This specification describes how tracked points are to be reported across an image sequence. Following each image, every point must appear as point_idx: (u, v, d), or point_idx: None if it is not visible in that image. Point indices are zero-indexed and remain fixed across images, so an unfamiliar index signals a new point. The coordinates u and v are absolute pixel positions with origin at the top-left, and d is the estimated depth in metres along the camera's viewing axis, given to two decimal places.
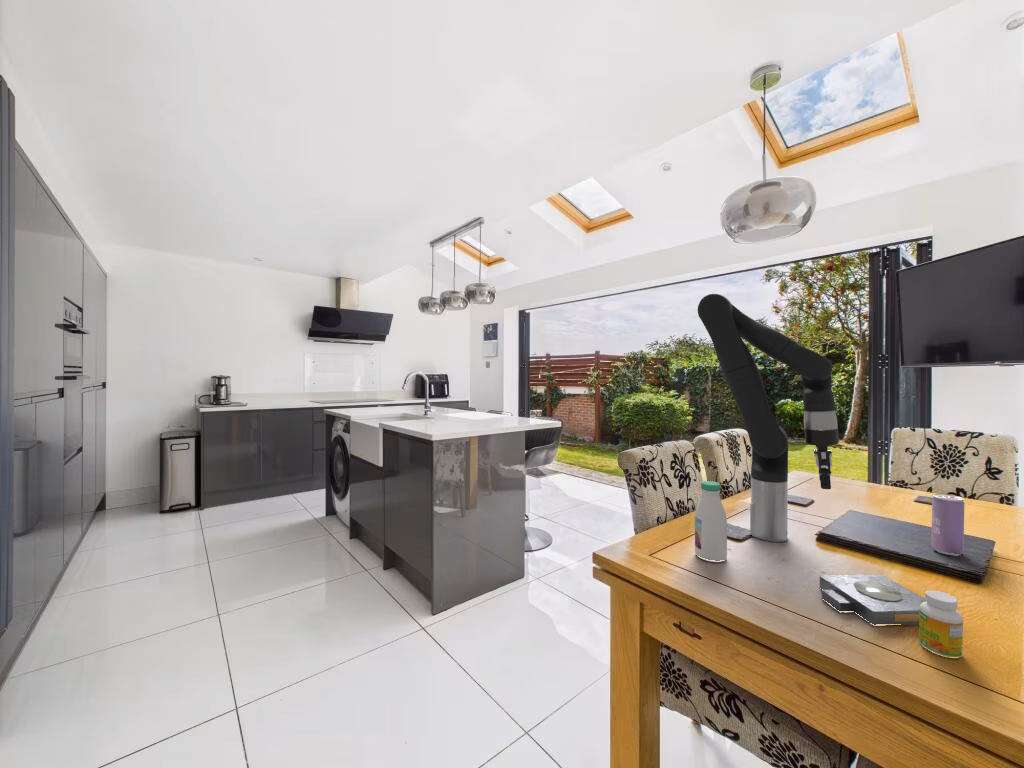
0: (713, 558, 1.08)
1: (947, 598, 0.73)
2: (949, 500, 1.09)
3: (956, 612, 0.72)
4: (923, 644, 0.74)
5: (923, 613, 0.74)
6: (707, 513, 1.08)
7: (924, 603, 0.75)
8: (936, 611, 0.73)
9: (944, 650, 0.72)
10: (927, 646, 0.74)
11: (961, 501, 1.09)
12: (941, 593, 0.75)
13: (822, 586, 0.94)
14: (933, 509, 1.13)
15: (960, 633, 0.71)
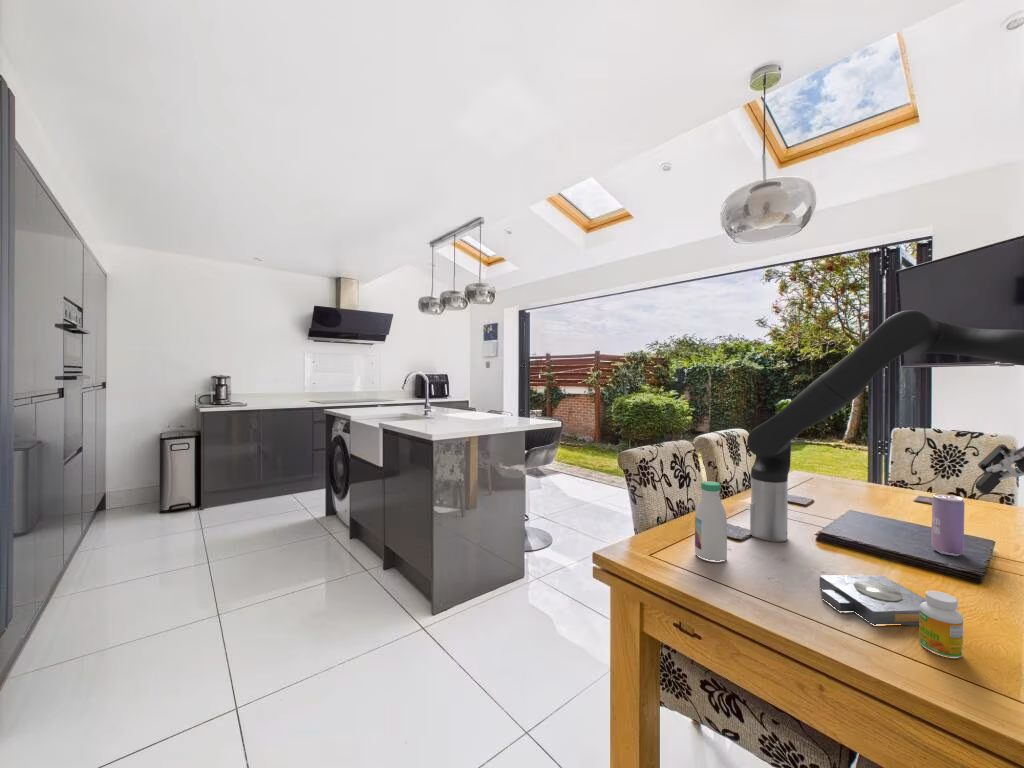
0: (713, 558, 1.08)
1: (947, 598, 0.73)
2: (949, 500, 1.09)
3: (956, 612, 0.72)
4: (923, 644, 0.74)
5: (923, 613, 0.74)
6: (707, 513, 1.08)
7: (924, 603, 0.75)
8: (936, 611, 0.73)
9: (944, 650, 0.72)
10: (927, 646, 0.74)
11: (961, 501, 1.09)
12: (941, 593, 0.75)
13: (822, 586, 0.94)
14: (933, 509, 1.13)
15: (960, 633, 0.71)
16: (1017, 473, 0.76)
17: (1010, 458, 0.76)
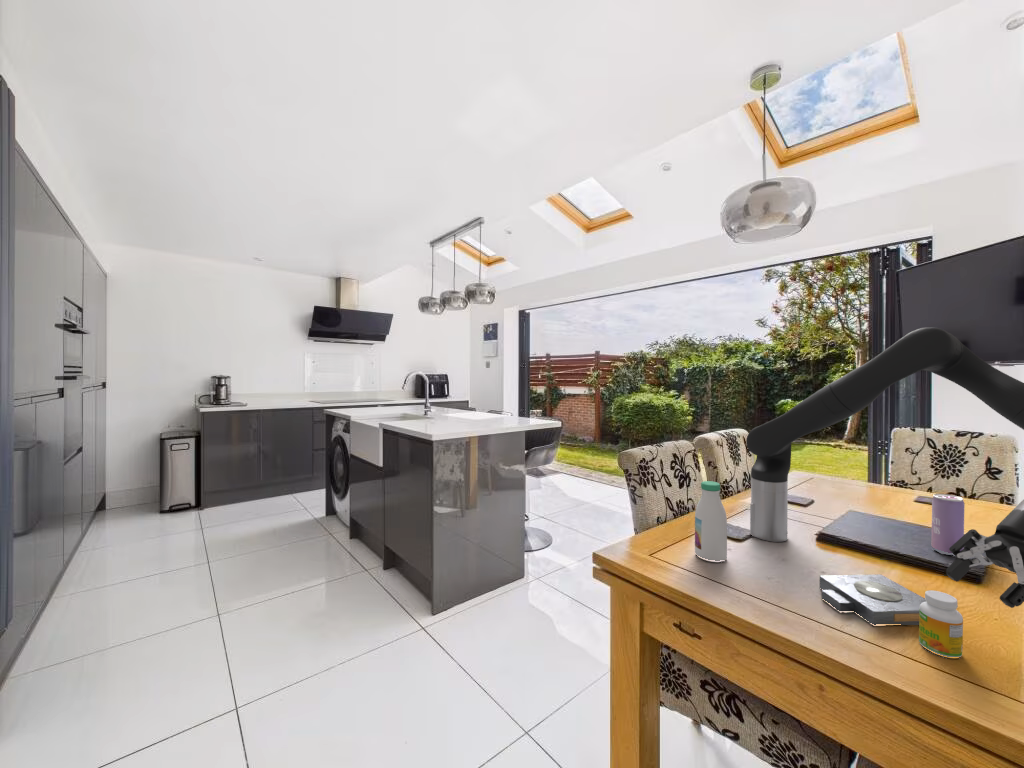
0: (713, 558, 1.08)
1: (947, 598, 0.73)
2: (949, 500, 1.09)
3: (956, 612, 0.72)
4: (923, 644, 0.74)
5: (923, 613, 0.74)
6: (707, 513, 1.08)
7: (924, 603, 0.75)
8: (936, 611, 0.73)
9: (944, 650, 0.72)
10: (927, 646, 0.74)
11: (961, 501, 1.09)
12: (941, 593, 0.75)
13: (822, 586, 0.94)
14: (933, 509, 1.13)
15: (960, 633, 0.71)
16: (987, 562, 0.77)
17: (980, 547, 0.77)
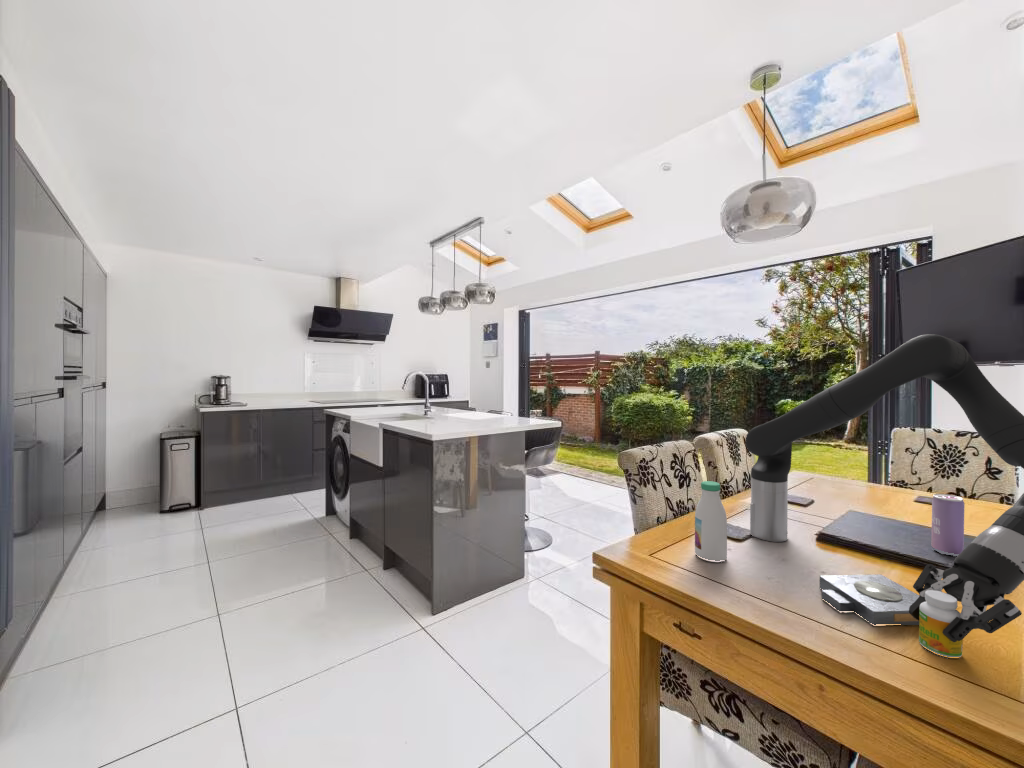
0: (713, 558, 1.08)
1: (947, 598, 0.73)
2: (949, 500, 1.09)
3: (956, 612, 0.72)
4: (923, 644, 0.74)
5: (923, 613, 0.74)
6: (707, 513, 1.08)
7: (924, 603, 0.75)
8: (936, 611, 0.73)
9: (944, 650, 0.72)
10: (927, 646, 0.74)
11: (961, 501, 1.09)
12: (941, 593, 0.75)
13: (822, 586, 0.94)
14: (933, 509, 1.13)
15: None
16: None
17: (939, 582, 0.76)
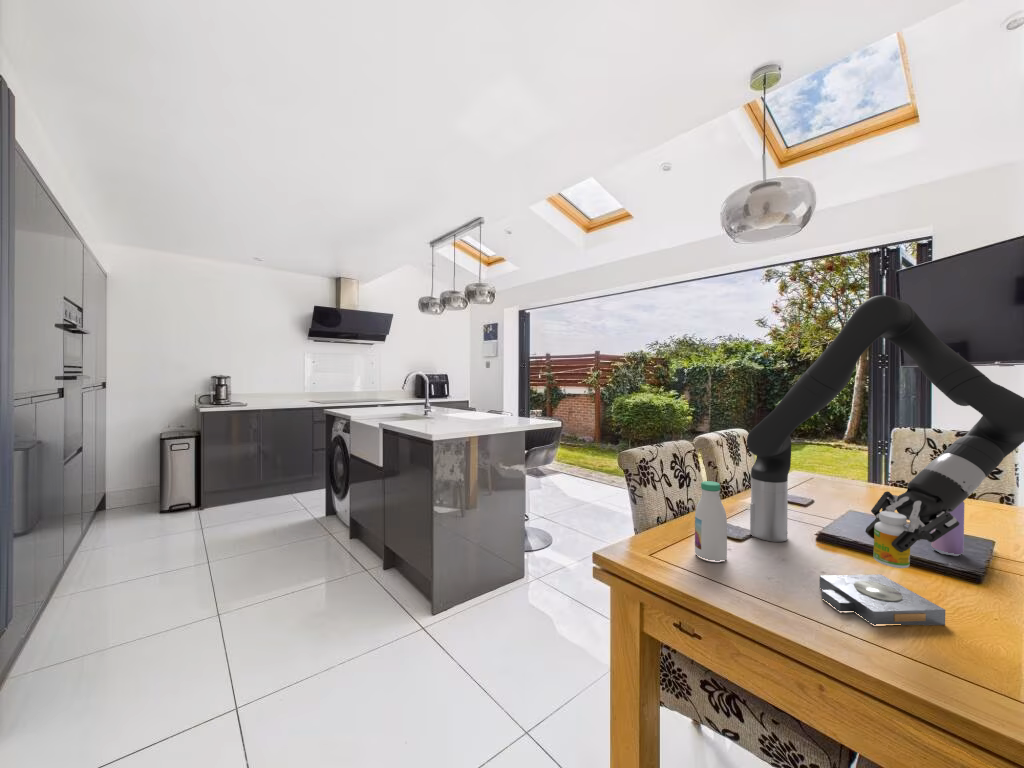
0: (713, 558, 1.08)
1: (898, 516, 0.82)
2: None
3: (905, 527, 0.82)
4: (876, 557, 0.84)
5: (877, 530, 0.84)
6: (707, 513, 1.08)
7: (878, 522, 0.85)
8: (887, 527, 0.82)
9: (893, 560, 0.81)
10: (879, 558, 0.83)
11: None
12: (893, 513, 0.84)
13: (822, 586, 0.94)
14: None
15: None
16: None
17: (893, 505, 0.85)
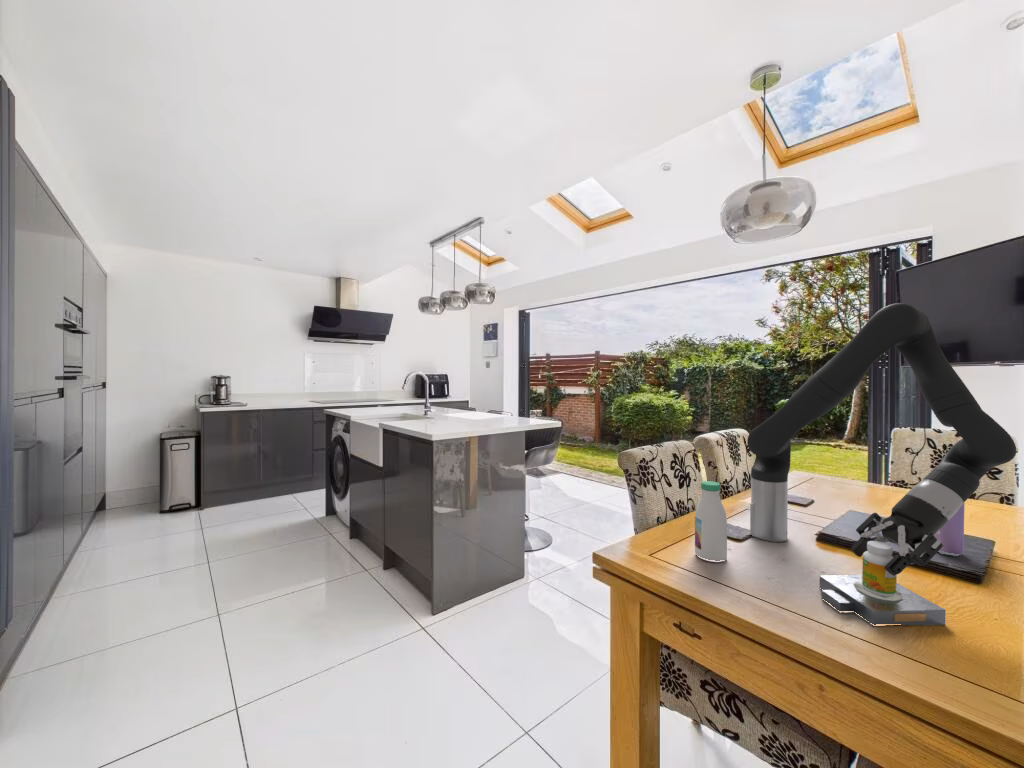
0: (713, 558, 1.08)
1: (884, 546, 0.87)
2: None
3: (891, 557, 0.86)
4: (865, 586, 0.88)
5: (865, 559, 0.88)
6: (707, 513, 1.08)
7: (866, 551, 0.89)
8: (874, 557, 0.86)
9: (881, 589, 0.85)
10: (868, 587, 0.87)
11: None
12: (880, 542, 0.88)
13: (822, 586, 0.94)
14: None
15: None
16: (883, 539, 0.90)
17: (878, 527, 0.90)
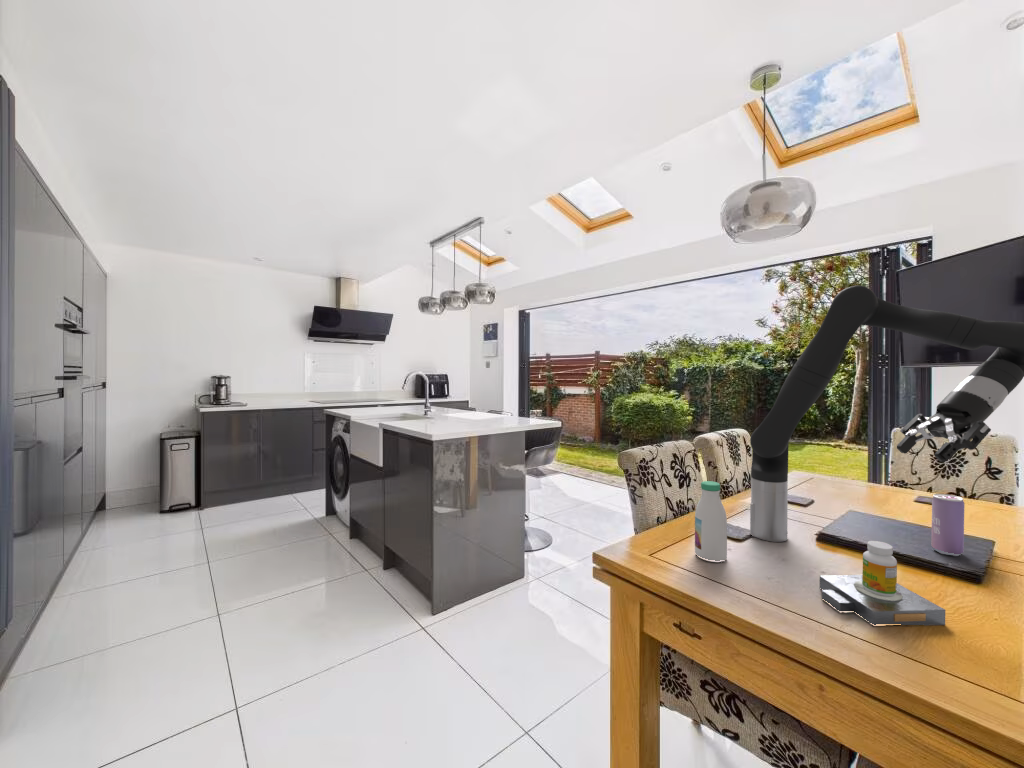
0: (713, 558, 1.08)
1: (885, 546, 0.87)
2: (949, 500, 1.09)
3: (891, 557, 0.86)
4: (865, 586, 0.88)
5: (865, 559, 0.88)
6: (707, 513, 1.08)
7: (866, 551, 0.89)
8: (875, 557, 0.86)
9: (881, 589, 0.85)
10: (868, 587, 0.87)
11: (961, 501, 1.09)
12: (880, 542, 0.88)
13: (822, 586, 0.94)
14: (933, 509, 1.13)
15: (894, 574, 0.85)
16: (929, 436, 0.94)
17: (923, 423, 0.94)
